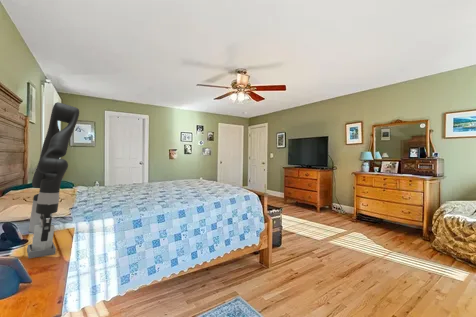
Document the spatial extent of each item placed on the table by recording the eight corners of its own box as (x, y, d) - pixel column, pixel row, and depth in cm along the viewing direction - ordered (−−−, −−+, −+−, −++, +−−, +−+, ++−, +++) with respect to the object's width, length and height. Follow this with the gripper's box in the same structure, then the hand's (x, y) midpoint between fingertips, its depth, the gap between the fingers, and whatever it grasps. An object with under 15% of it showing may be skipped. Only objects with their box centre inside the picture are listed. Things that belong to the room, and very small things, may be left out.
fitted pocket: (26, 250, 101) (27, 244, 101) (52, 246, 107) (52, 241, 107) (28, 258, 94) (29, 252, 94) (55, 254, 100) (55, 248, 100)
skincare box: (51, 251, 103) (55, 224, 103) (42, 254, 98) (46, 227, 99) (39, 249, 103) (43, 223, 104) (30, 252, 99) (34, 225, 100)
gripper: (35, 199, 104) (30, 234, 103) (38, 205, 94) (32, 244, 93) (56, 199, 109) (51, 232, 108) (61, 204, 99) (55, 241, 99)
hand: (42, 238), depth 101 cm, fingers open, 8 cm apart
